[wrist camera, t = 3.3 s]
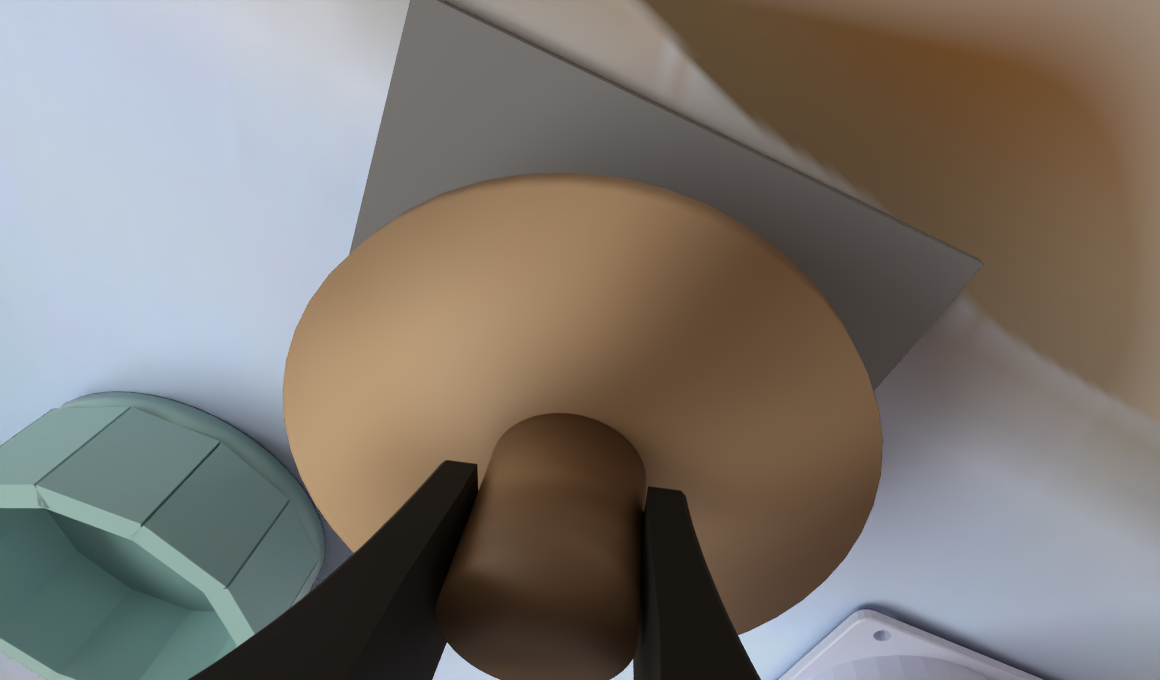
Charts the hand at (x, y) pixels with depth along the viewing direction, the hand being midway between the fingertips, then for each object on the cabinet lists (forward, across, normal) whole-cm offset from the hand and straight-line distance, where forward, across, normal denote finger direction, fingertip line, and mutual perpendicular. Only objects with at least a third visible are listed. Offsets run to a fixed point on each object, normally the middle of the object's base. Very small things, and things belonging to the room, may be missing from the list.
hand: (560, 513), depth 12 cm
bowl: (+5, +14, +8) cm, 17 cm away
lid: (+2, 0, 0) cm, 2 cm away
